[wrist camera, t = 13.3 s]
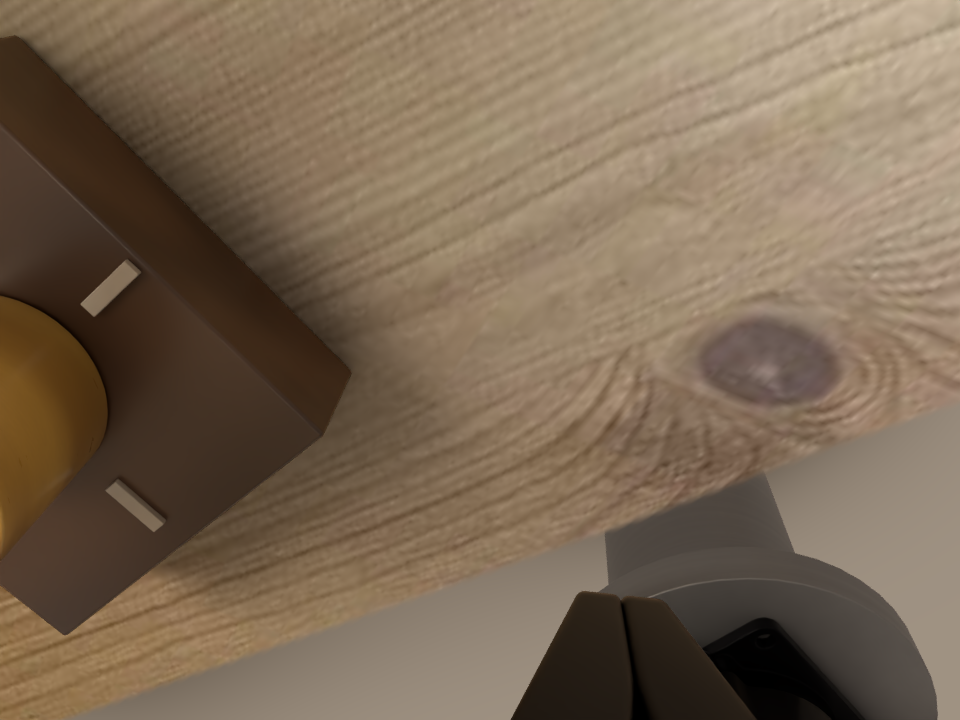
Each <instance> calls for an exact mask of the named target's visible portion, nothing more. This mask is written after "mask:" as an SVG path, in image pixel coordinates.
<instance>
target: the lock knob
mask: <svg viewBox="0 0 960 720" xmlns="http://www.w3.org/2000/svg"><path fill="white" fill-rule="evenodd" d="M107 417H108V408H107V398H106V393H105V388H104V386H103V383H102V380H101V377H100V375H99V373H98V370H97V368H96V366H95V364H94V363H93V361H92V360H91V358H90V356H89V355H88V353H87V352H86V351H85V349H84V348H83V347H82V346H81V344H80V343H79V342H78V341H77V340H76V339H75V338H74V337H73V336H72V335H71V334H70V333H69V332H68V331H67V330H66V329H65V328H64V327H63V326H61V325H60V324H59V323H58V322H56V321H55V320H54V319H52V318H51V317H49V316H48V315H46V314H45V313H43V312H41V311H39V310H37V309H35V308H34V307H32V306H30V305H27V304H25V303H22V302H20V301H17V300H14V299H11V298H7V297H4V296H0V562H1V561H2V559H3V558H4V557H5V556H6V555H7V554H8V552H9V551H10V550H11V549H12V548H13V547H14V546H15V544H16V543H17V542H18V541H19V540H20V539H21V538H22V536H23V535H24V534H25V533H26V532H27V531H28V530H29V528H30V527H31V526H32V525H33V524H34V523H35V522H36V520H37V519H38V518H39V517H40V516H41V515H42V514H43V512H44V511H45V510H46V509H47V508H48V507H49V506H50V504H51V503H52V502H53V501H54V500H55V499H56V498H57V496H58V495H59V494H60V493H61V492H62V491H63V489H64V488H65V487H66V486H67V485H68V484H69V483H70V481H71V480H72V479H73V478H74V477H75V476H76V475H77V473H78V472H79V471H80V470H81V469H82V468H83V467H84V465H85V464H86V463H87V462H88V461H89V460H90V459H91V457H92V456H93V455H94V454H95V452H96V451H97V449H98V448H99V446H100V444H101V442H102V439H103V437H104V434H105V430H106V426H107Z"/></svg>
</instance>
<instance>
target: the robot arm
mask: <svg viewBox="0 0 960 720" xmlns="http://www.w3.org/2000/svg"><path fill="white" fill-rule="evenodd" d="M764 634H768V635H770V636H768V637H766V638H758V637H759V636H761V635H764ZM511 720H866V719H865V718H864V717H863V716H862V715H861V714H860V713H859V711H858V710H857V709H856V708H855V707H854V706H853V705H852V704H851V703H850V702H849V700H848V699H847V698H846V697H845V696H844V695H843V694H842V693H841V692H840V691H839V689H838V688H837V687H836V686H835V685H834V684H833V683H832V682H831V681H830V679H829V678H828V677H827V676H826V675H825V674H824V673H823V672H822V671H821V670H820V668H819V667H818V666H817V665H816V664H815V663H814V662H813V661H812V660H811V659H810V657H809V656H808V655H807V654H806V653H805V652H804V651H803V650H802V649H801V648H800V646H799V645H798V644H797V643H796V642H795V641H794V640H793V639H792V638H791V637H790V635H789V634H788V633H787V632H786V631H785V630H784V629H783V628H782V627H781V626H780V624H779V623H778V622H776V621H775V620H773V619H770V618H767V617H763V618H757V619H754V620H752V621H750V622H748V623H746V624H744V625H743V626H741V627H739V628H737V629H735V630H734V631H732V632H730V633H728V634H726V635H724V636H723V637H721V638H719V639H717V640H715V641H714V642H712V643H710V644H708V645H706V646H705V647H703V648H701V647H700V646H699V645H698V643H697V642H696V641H695V640H694V638H693V637H692V636H691V634H690V633H689V632H688V631H687V629H686V628H685V627H684V625H683V624H682V623H681V622H680V620H679V619H678V618H677V616H676V615H675V614H674V613H673V611H672V610H671V609H670V607H669V606H668V605H667V604H666V603H665V602H664V601H662V600H660V599H654V598H645V597H635V596H625V597H624V598H623V599H622V600H620V599H619V597H618V596H616V595H614V594H607V593H598V592H588V591H582V592H580V593H578V594H577V596H576V597H575V599H574V601H573V603H572V605H571V607H570V609H569V611H568V612H567V615H566V616H565V618H564V620H563V622H562V624H561V626H560V627H559V629H558V631H557V633H556V635H555V637H554V639H553V641H552V643H551V644H550V646H549V648H548V650H547V652H546V654H545V656H544V658H543V660H542V661H541V663H540V665H539V667H538V669H537V671H536V673H535V675H534V677H533V679H532V680H531V682H530V684H529V686H528V688H527V690H526V692H525V694H524V695H523V697H522V699H521V701H520V703H519V705H518V707H517V709H516V711H515V712H514V714H513V717H512V718H511Z"/></svg>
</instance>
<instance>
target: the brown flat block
mask: <svg viewBox="0 0 960 720" xmlns="http://www.w3.org/2000/svg"><path fill="white" fill-rule="evenodd" d="M0 296H4V297H7V298H11V299H14V300H17V301H20V302H22V303H25V304H27V305H30V306H32V307H34V308H35V309H37V310H39V311H41V312H43V313H45V314H46V315H48V316H49V317H51V318H52V319H54V320H55V321H56V322H58V323H59V324H60V325H61V326H63V327H64V328H65V329H66V330H67V331H68V332H69V333H70V334H71V335H72V336H73V337H74V338H75V339H76V340H77V341H78V342H79V343H80V344H81V346H82V347H83V348H84V349H85V351H86V352H87V353H88V355H89V356H90V358H91V360H92V361H93V363H94V364H95V366H96V368H97V370H98V373H99V375H100V377H101V380H102V383H103V386H104V388H105V393H106V398H107V408H108V417H107V426H106V430H105V434H104V437H103V439H102V442H101V444H100V446H99V448H98V449H97V451H96V452H95V454H94V455H93V456H92V457H91V459H90V460H89V461H88V462H87V463H86V464H85V465H84V467H83V468H82V469H81V470H80V471H79V472H78V473H77V475H76V476H75V477H74V478H73V479H72V480H71V481H70V483H69V484H68V485H67V486H66V487H65V488H64V489H63V491H62V492H61V493H60V494H59V495H58V496H57V498H56V499H55V500H54V501H53V502H52V503H51V504H50V506H49V507H48V508H47V509H46V510H45V511H44V512H43V514H42V515H41V516H40V517H39V518H38V519H37V520H36V522H35V523H34V524H33V525H32V526H31V527H30V528H29V530H28V531H27V532H26V533H25V534H24V535H23V536H22V538H21V539H20V540H19V541H18V542H17V543H16V544H15V546H14V547H13V548H12V549H11V550H10V551H9V552H8V554H7V555H6V556H5V557H4V558H3V559H2V561H1V562H0V585H1V586H2V587H3V588H4V589H6V590H7V591H8V592H10V593H11V594H12V595H13V596H15V597H16V598H17V599H18V600H20V601H21V602H22V603H23V604H25V605H26V606H27V607H29V608H30V609H31V610H32V611H34V612H35V613H36V614H37V615H39V616H40V617H41V618H43V619H44V620H45V621H46V622H48V623H49V624H50V625H51V626H53V627H54V628H55V629H57V630H58V631H59V632H60V633H62V634H63V635H68V634H69V633H71V632H72V631H73V630H74V629H76V628H77V627H78V626H80V625H81V624H82V623H83V622H85V621H86V620H87V619H89V618H90V617H91V616H92V615H94V614H95V613H96V612H97V611H99V610H100V609H101V608H103V607H104V606H105V605H106V604H108V603H109V602H110V601H112V600H113V599H114V598H115V597H117V596H118V595H119V594H121V593H122V592H123V591H124V590H126V589H127V588H128V587H130V586H131V585H132V584H133V583H135V582H136V581H137V580H139V579H140V578H141V577H142V576H144V575H145V574H146V573H148V572H149V571H150V570H151V569H153V568H154V567H155V566H157V565H158V564H159V563H160V562H162V561H163V560H164V559H166V558H167V557H168V556H169V555H171V554H172V553H173V552H175V551H176V550H177V549H178V548H180V547H181V546H182V545H184V544H185V543H186V542H187V541H189V540H190V539H191V538H193V537H194V536H195V535H196V534H198V533H199V532H200V531H202V530H203V529H204V528H205V527H207V526H208V525H209V524H210V523H212V522H213V521H214V520H216V519H217V518H218V517H219V516H221V515H222V514H223V513H225V512H226V511H227V510H228V509H230V508H231V507H232V506H234V505H235V504H236V503H237V502H239V501H240V500H241V499H243V498H244V497H245V496H246V495H248V494H249V493H250V492H252V491H253V490H254V489H255V488H257V487H258V486H259V485H261V484H262V483H263V482H264V481H266V480H267V479H268V478H270V477H271V476H272V475H273V474H275V473H276V472H277V471H279V470H280V469H281V468H282V467H284V466H285V465H286V464H288V463H289V462H290V461H291V460H293V459H294V458H295V457H297V456H298V455H299V454H300V453H302V452H303V451H304V450H306V449H307V448H308V447H309V446H311V445H312V444H313V443H315V442H316V441H317V440H318V439H320V438H321V437H322V436H323V435H324V433H325V430H326V428H327V426H328V424H329V422H330V419H331V417H332V415H333V413H334V411H335V409H336V406H337V404H338V402H339V400H340V398H341V395H342V393H343V391H344V389H345V387H346V385H347V382H348V380H349V378H350V376H351V374H352V373H351V371H350V369H349V368H348V367H347V366H346V365H345V364H344V363H343V362H342V361H341V360H340V359H339V358H338V357H337V356H336V355H335V354H334V353H333V352H332V351H331V350H330V349H329V348H328V347H327V346H326V345H325V344H324V343H323V342H322V341H321V340H320V339H319V338H318V337H317V336H316V335H315V334H314V333H313V332H312V331H311V330H310V329H309V328H308V327H307V326H306V325H305V324H304V323H303V322H302V321H301V320H300V319H299V318H298V317H297V316H296V315H295V314H294V313H293V312H292V311H291V310H290V309H289V308H288V307H287V306H286V305H285V304H284V303H283V302H282V301H281V300H280V299H279V298H278V297H277V296H276V295H275V294H274V293H273V292H272V291H271V290H270V289H269V288H268V287H267V286H266V285H265V284H264V283H263V282H262V281H261V280H260V279H259V278H258V277H257V276H256V275H255V274H254V273H253V272H252V271H251V270H250V269H249V268H248V267H247V266H246V265H245V264H244V263H243V262H242V261H241V260H240V259H239V258H238V257H237V256H236V255H235V254H234V253H233V252H232V251H231V250H230V249H229V248H228V247H227V246H226V245H225V244H224V243H223V242H222V241H221V240H220V239H219V238H218V237H217V236H216V235H215V234H214V233H213V232H212V231H211V230H210V229H209V228H208V227H207V226H206V225H205V224H204V223H203V222H202V221H201V220H200V219H199V218H198V217H197V216H196V215H195V214H194V213H193V212H192V211H191V210H190V209H189V208H188V207H187V206H186V205H185V204H184V203H183V202H182V201H181V200H180V199H179V198H178V197H177V196H176V195H175V194H174V193H173V192H172V191H171V190H170V189H169V188H168V187H167V186H166V185H165V184H164V183H163V182H162V181H161V180H160V179H159V178H158V177H157V176H156V175H155V174H154V173H153V172H152V171H151V170H150V169H149V168H148V167H147V166H146V165H145V164H144V163H143V162H142V161H141V160H140V159H139V158H138V156H137V155H136V154H135V153H134V152H133V151H132V150H131V149H130V148H129V147H128V146H127V145H126V144H125V143H124V142H123V141H122V140H121V139H120V138H119V137H118V136H117V135H116V134H115V133H114V132H113V131H112V130H111V129H110V128H109V127H108V126H107V125H106V124H105V123H104V122H103V121H102V120H101V119H100V118H99V117H98V116H97V115H96V114H95V113H94V112H93V111H92V110H91V109H90V108H89V107H88V106H87V105H86V104H85V103H84V102H83V101H82V100H81V99H80V98H79V97H78V96H77V95H76V94H75V93H74V92H73V91H72V90H71V89H70V88H69V87H68V86H67V85H66V84H65V83H64V82H63V81H62V80H61V79H60V78H59V77H58V76H57V75H56V74H55V73H54V72H53V71H52V70H51V69H50V68H49V67H48V66H47V65H46V64H45V63H44V62H43V61H42V60H41V59H40V58H39V57H38V56H37V55H36V54H35V53H34V52H33V51H32V50H31V49H30V48H29V47H28V46H27V45H26V44H25V43H24V42H23V41H22V40H21V39H20V38H19V37H17V36H15V35H14V36H9V37H4V38H0Z"/></svg>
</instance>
